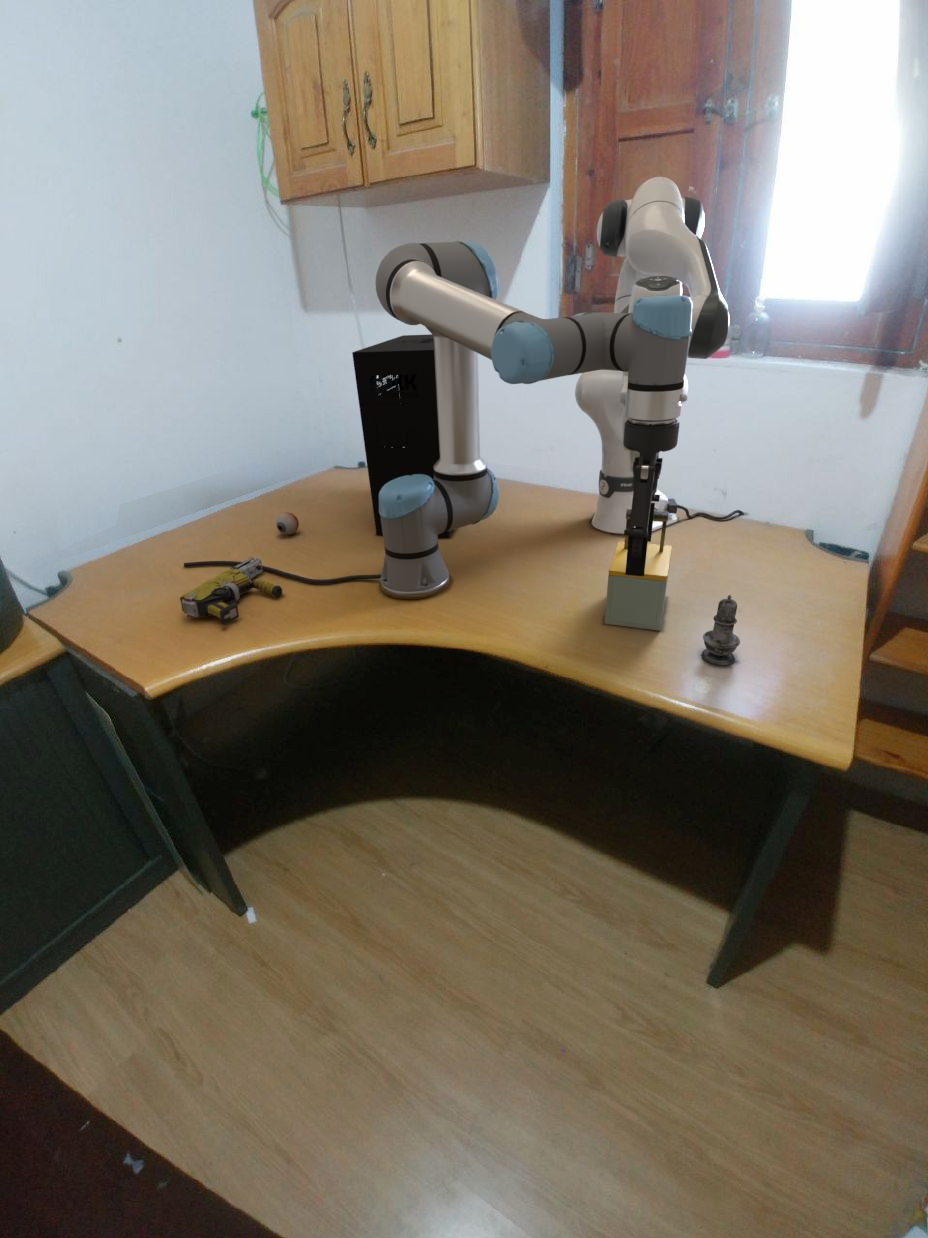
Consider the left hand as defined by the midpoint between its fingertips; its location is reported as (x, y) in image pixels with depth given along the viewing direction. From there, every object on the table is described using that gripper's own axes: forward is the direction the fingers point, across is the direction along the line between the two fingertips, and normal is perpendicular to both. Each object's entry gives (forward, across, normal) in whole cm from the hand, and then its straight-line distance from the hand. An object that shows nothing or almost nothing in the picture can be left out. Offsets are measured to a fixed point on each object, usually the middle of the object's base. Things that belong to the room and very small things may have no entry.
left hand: (638, 556), depth 96 cm
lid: (+9, +18, 0) cm, 20 cm away
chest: (+19, +17, 0) cm, 26 cm away
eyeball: (+19, +38, +94) cm, 103 cm away
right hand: (-8, +22, +2) cm, 24 cm away
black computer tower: (+19, +62, +62) cm, 90 cm away
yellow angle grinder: (+19, +2, +82) cm, 84 cm away
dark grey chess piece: (+19, +4, -15) cm, 25 cm away
